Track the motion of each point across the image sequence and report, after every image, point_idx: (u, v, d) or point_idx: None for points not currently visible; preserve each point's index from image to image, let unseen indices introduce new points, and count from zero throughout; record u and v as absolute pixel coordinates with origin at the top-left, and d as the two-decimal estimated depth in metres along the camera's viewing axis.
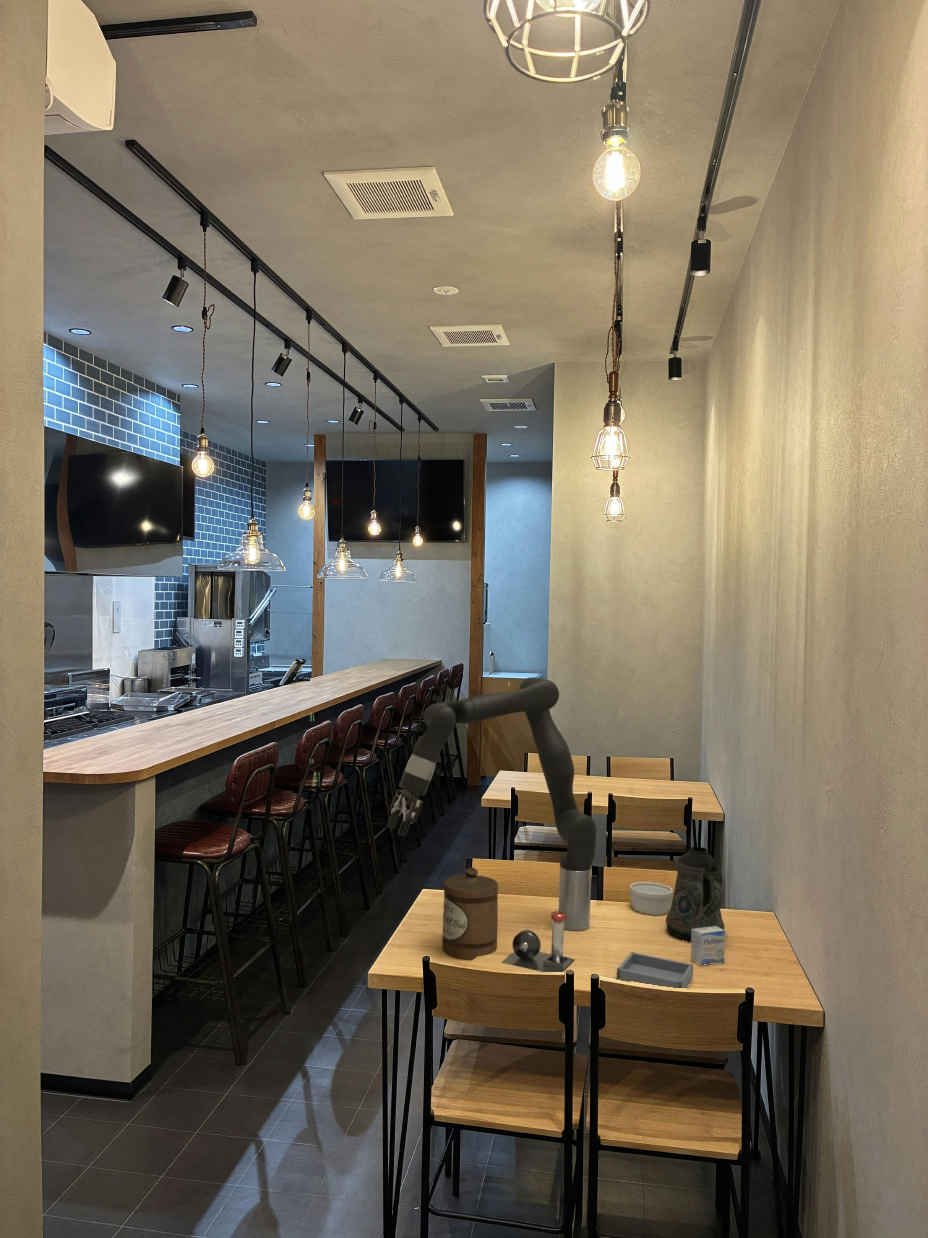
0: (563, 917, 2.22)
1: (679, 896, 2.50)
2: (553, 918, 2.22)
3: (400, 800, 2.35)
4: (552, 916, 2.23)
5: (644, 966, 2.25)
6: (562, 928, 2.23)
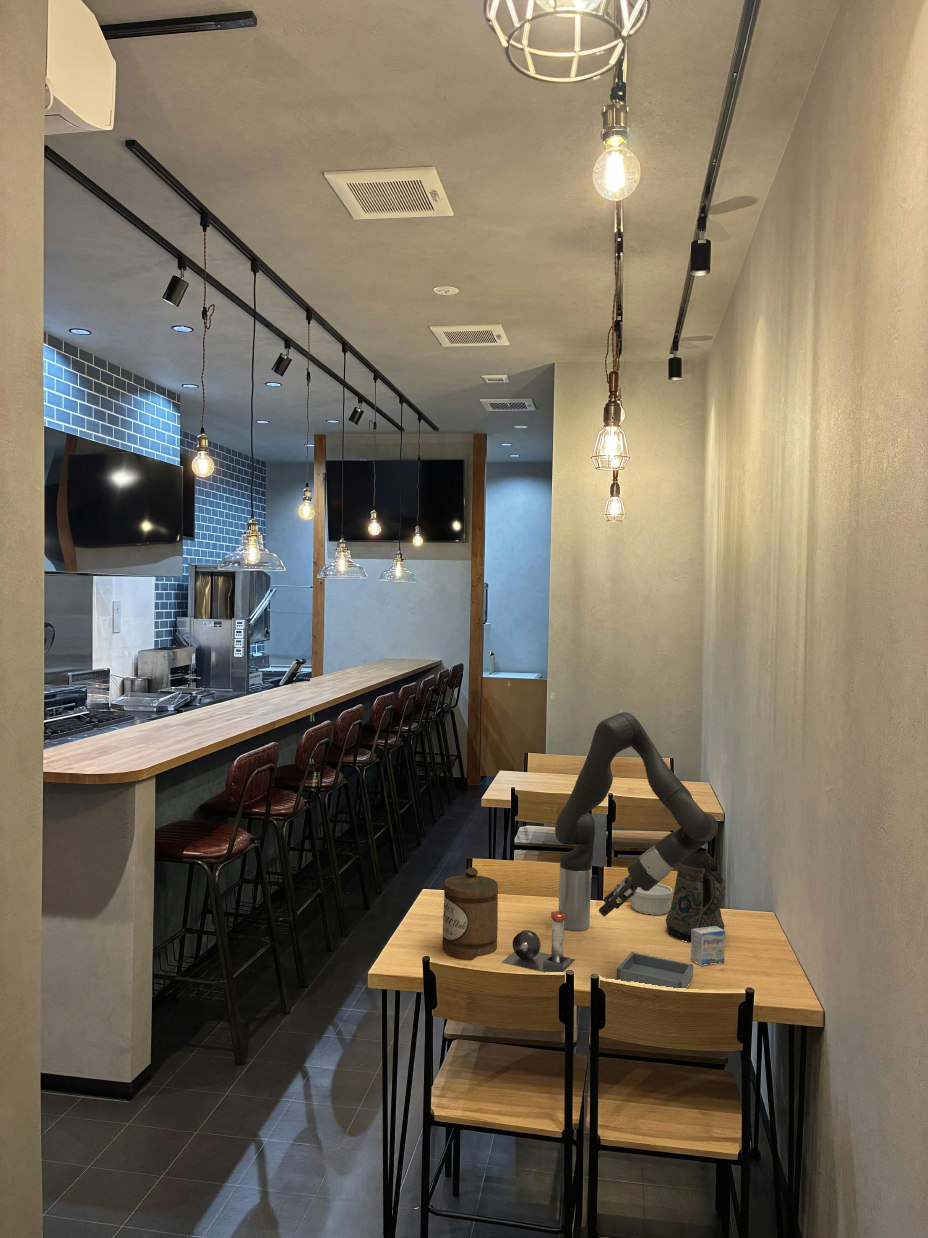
0: (563, 917, 2.22)
1: (679, 896, 2.50)
2: (553, 918, 2.22)
3: None
4: (552, 916, 2.23)
5: (644, 966, 2.25)
6: (562, 928, 2.23)
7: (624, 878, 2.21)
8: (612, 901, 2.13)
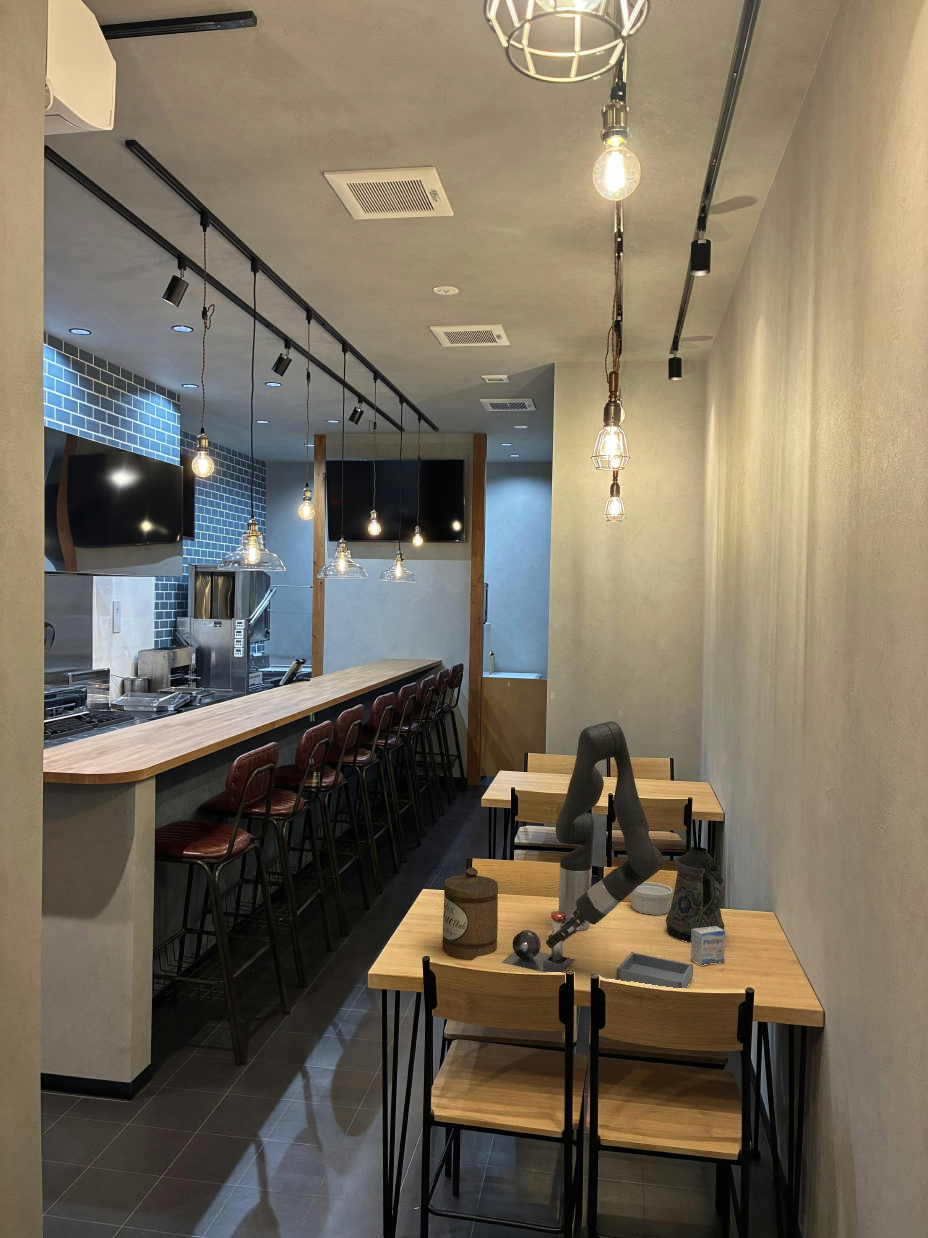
0: (563, 917, 2.22)
1: (679, 896, 2.50)
2: (553, 918, 2.22)
3: None
4: (552, 916, 2.23)
5: (644, 966, 2.25)
6: None
7: (572, 911, 2.24)
8: (557, 935, 2.19)
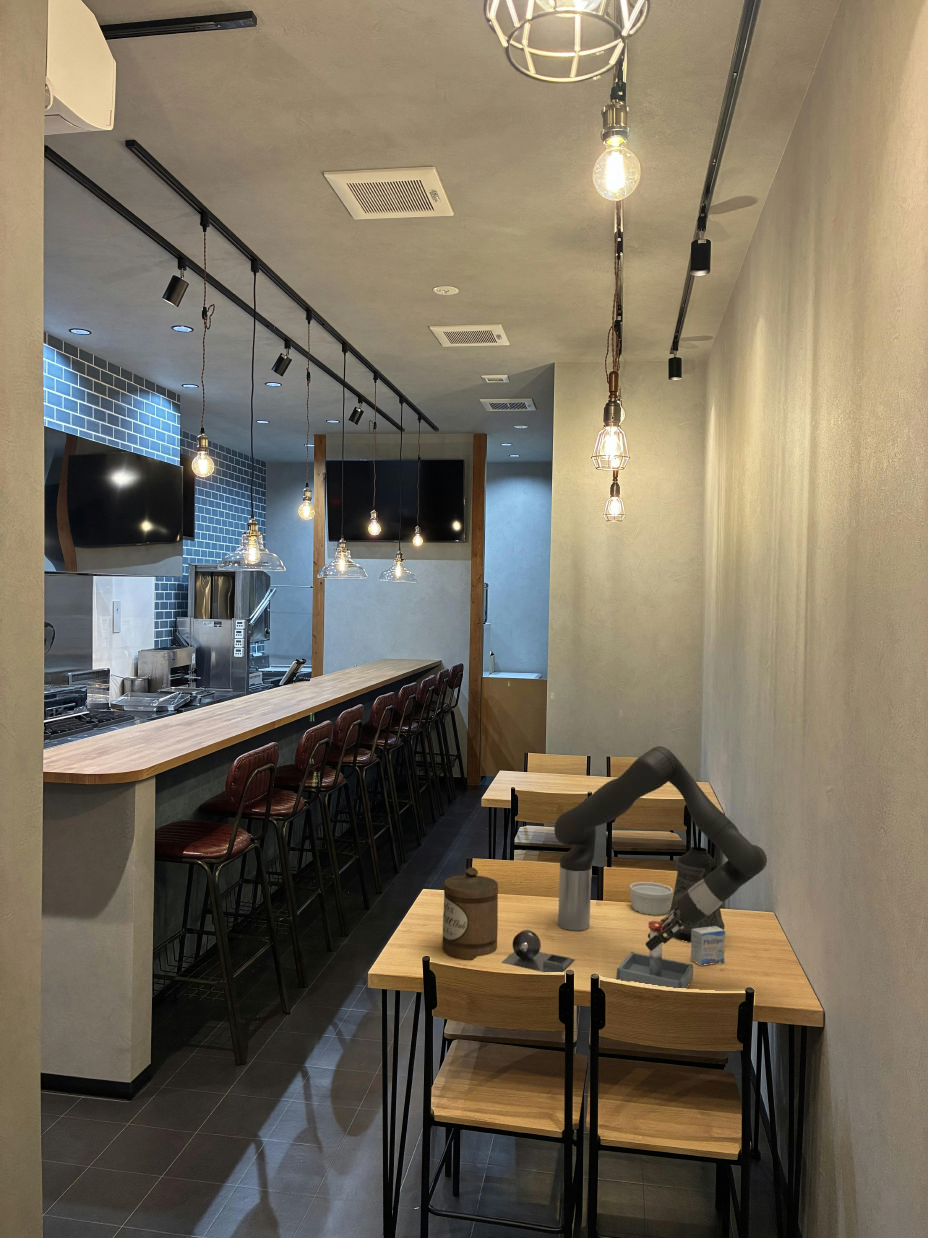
0: None
1: (679, 896, 2.50)
2: (651, 928, 2.18)
3: None
4: (650, 926, 2.18)
5: (644, 966, 2.25)
6: None
7: (671, 911, 2.19)
8: (659, 936, 2.12)
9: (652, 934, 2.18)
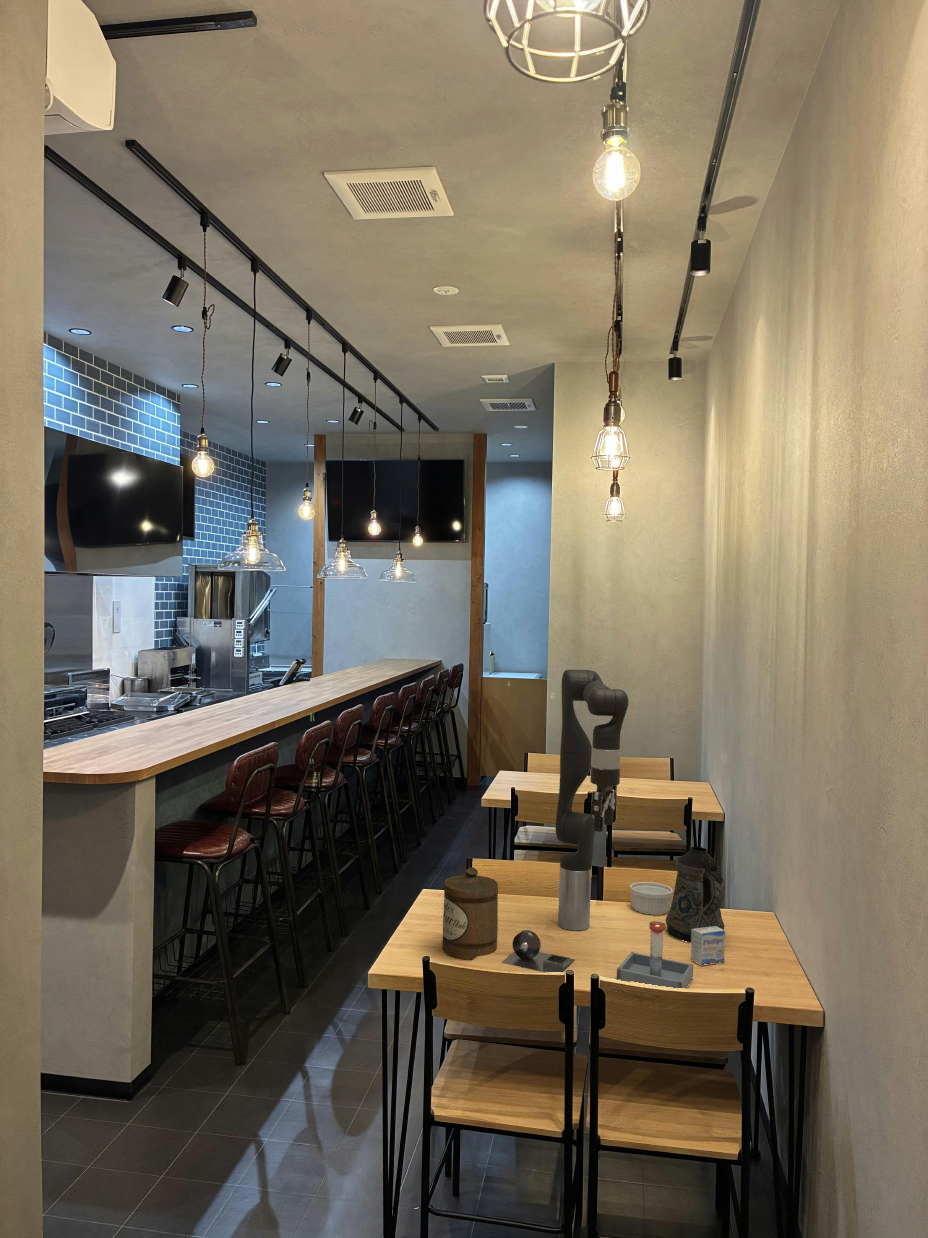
0: (663, 927, 2.17)
1: (679, 896, 2.50)
2: (652, 928, 2.17)
3: None
4: (651, 926, 2.17)
5: (644, 966, 2.25)
6: (661, 939, 2.17)
7: None
8: (592, 812, 2.20)
9: (653, 935, 2.17)
